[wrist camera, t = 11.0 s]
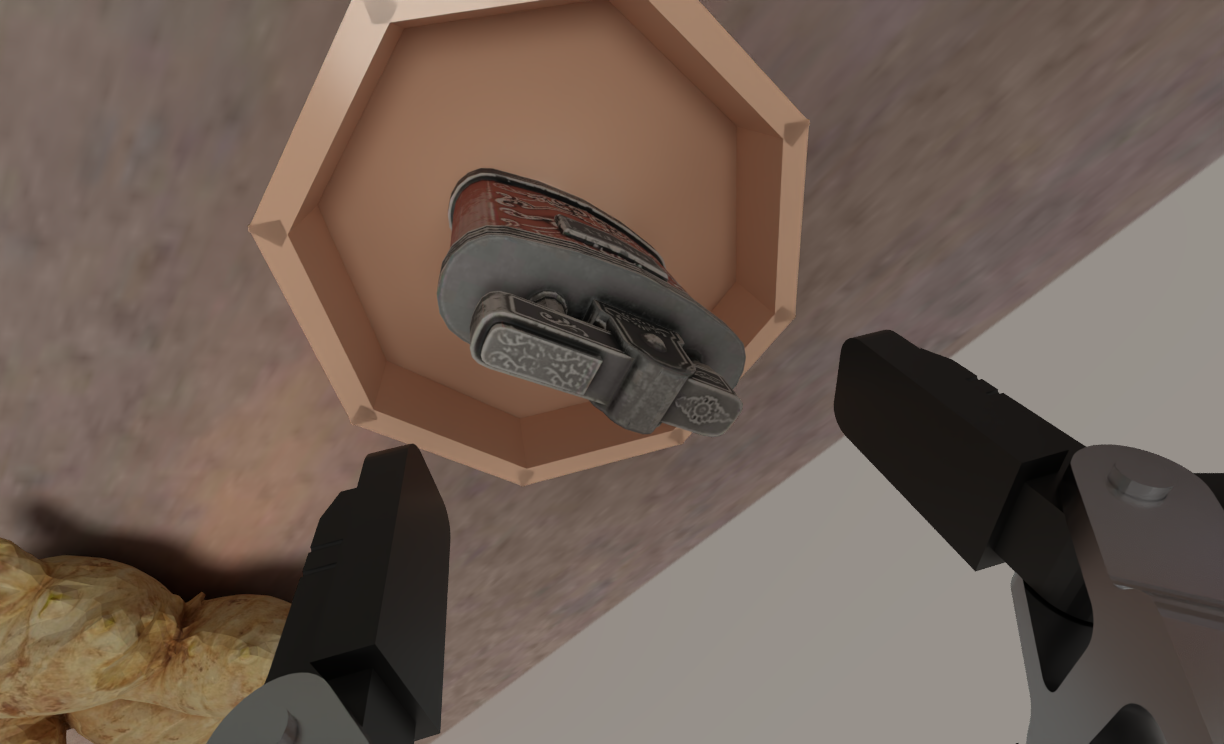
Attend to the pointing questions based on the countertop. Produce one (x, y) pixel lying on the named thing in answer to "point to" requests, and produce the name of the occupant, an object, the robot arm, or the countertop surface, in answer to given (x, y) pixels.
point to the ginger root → (122, 653)
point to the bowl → (537, 149)
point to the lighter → (582, 307)
